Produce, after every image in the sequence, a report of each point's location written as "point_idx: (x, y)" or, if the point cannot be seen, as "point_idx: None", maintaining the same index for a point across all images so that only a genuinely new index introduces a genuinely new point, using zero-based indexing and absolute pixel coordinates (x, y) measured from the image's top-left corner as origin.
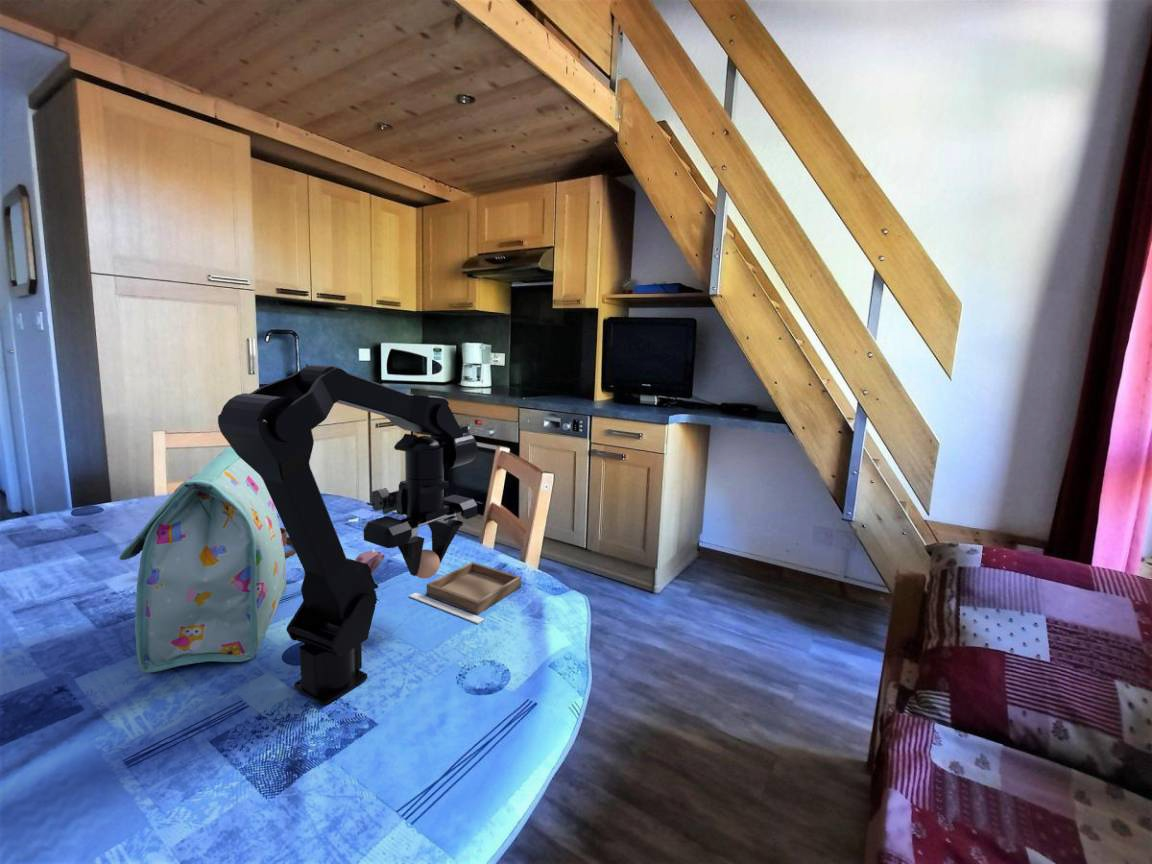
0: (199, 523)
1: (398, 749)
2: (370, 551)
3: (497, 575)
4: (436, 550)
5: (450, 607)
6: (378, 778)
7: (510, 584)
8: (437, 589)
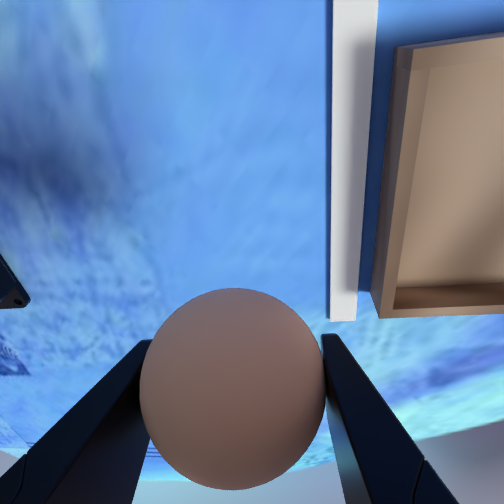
0: None
1: (45, 410)
2: None
3: None
4: (338, 444)
5: (353, 218)
6: (16, 418)
7: None
8: (401, 133)
